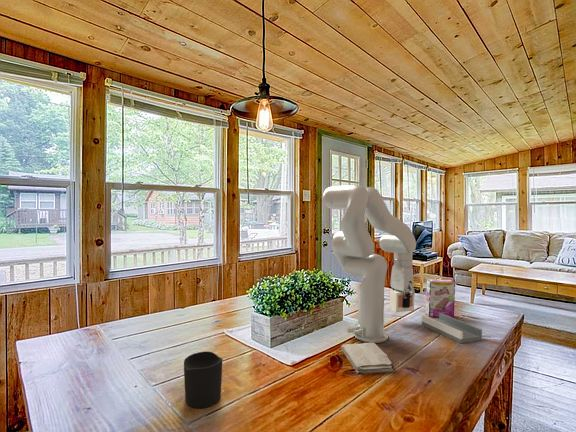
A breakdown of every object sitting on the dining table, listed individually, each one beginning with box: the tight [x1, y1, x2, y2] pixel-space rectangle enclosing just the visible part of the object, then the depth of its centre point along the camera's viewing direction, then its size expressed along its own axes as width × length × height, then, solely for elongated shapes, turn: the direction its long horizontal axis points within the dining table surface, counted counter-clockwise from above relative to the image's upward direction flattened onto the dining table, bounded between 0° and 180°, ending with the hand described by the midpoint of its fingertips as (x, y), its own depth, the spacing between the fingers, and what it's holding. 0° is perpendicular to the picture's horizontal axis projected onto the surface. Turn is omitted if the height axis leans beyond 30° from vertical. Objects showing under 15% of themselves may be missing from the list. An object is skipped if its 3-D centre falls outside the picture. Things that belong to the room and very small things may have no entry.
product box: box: [389, 289, 415, 313], centre depth 139 cm, size 9×5×8 cm, turn 108°
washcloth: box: [340, 342, 394, 374], centre depth 105 cm, size 12×18×3 cm, turn 8°
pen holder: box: [183, 350, 223, 409], centre depth 82 cm, size 9×9×10 cm
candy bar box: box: [425, 278, 456, 319], centre depth 149 cm, size 11×5×16 cm, turn 84°
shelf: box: [421, 313, 483, 344], centre depth 129 cm, size 20×10×4 cm, turn 18°
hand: (401, 305), depth 139 cm, fingers closed on product box, 4 cm apart
